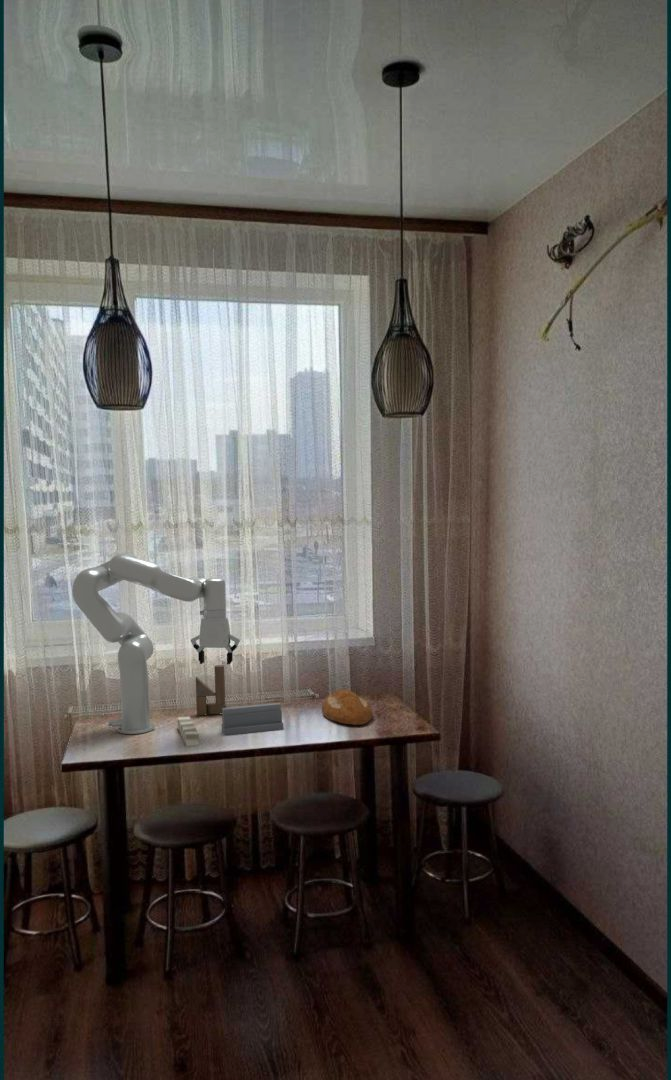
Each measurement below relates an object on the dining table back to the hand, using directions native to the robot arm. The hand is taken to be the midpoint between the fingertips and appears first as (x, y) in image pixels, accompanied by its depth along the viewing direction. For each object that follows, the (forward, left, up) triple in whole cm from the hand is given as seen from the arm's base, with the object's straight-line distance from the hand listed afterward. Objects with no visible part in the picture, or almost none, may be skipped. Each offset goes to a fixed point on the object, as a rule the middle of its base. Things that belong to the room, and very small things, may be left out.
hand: (215, 663), depth 293 cm
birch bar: (-11, -6, -23) cm, 26 cm away
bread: (+47, 0, -23) cm, 52 cm away
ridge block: (+11, -6, -23) cm, 26 cm away
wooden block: (+1, +21, -23) cm, 31 cm away
